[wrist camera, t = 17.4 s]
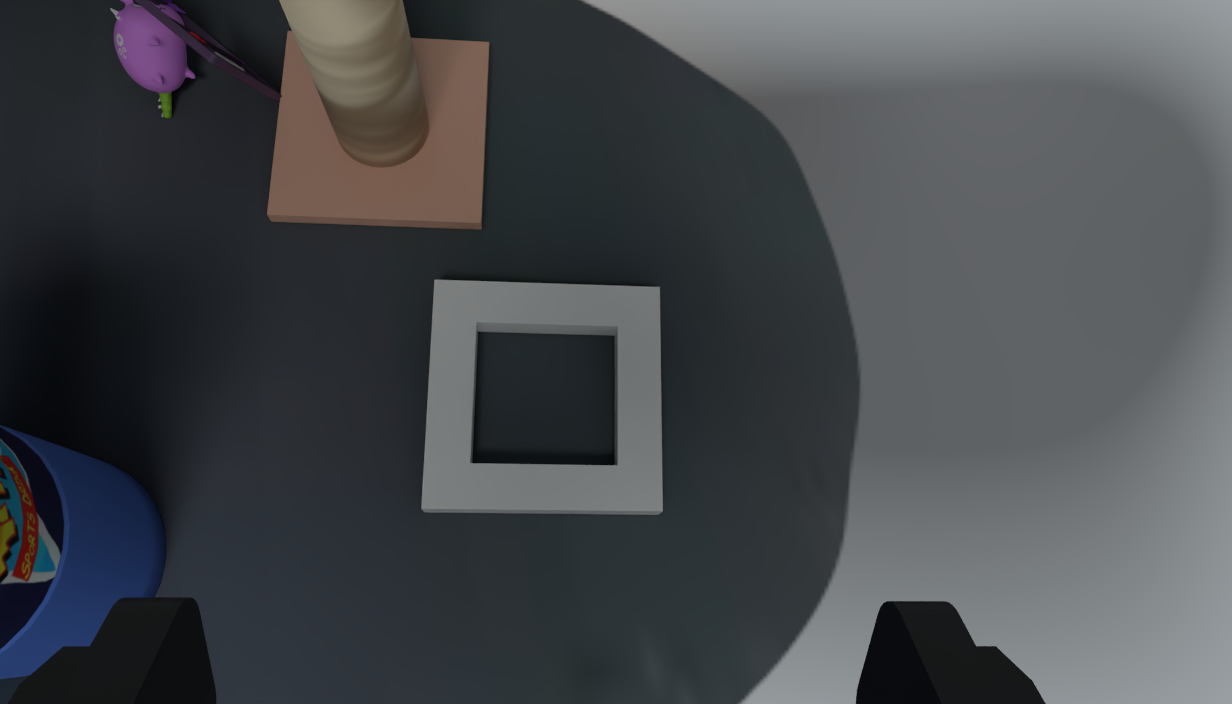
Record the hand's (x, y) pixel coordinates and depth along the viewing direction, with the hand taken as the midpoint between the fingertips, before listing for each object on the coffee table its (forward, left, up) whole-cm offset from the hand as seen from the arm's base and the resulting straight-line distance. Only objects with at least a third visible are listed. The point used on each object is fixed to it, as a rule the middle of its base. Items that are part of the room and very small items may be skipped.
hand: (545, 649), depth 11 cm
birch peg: (+13, +21, -30) cm, 39 cm away
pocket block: (+8, +6, -31) cm, 32 cm away
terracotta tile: (+13, +21, -31) cm, 39 cm away
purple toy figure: (+9, +30, -31) cm, 44 cm away
